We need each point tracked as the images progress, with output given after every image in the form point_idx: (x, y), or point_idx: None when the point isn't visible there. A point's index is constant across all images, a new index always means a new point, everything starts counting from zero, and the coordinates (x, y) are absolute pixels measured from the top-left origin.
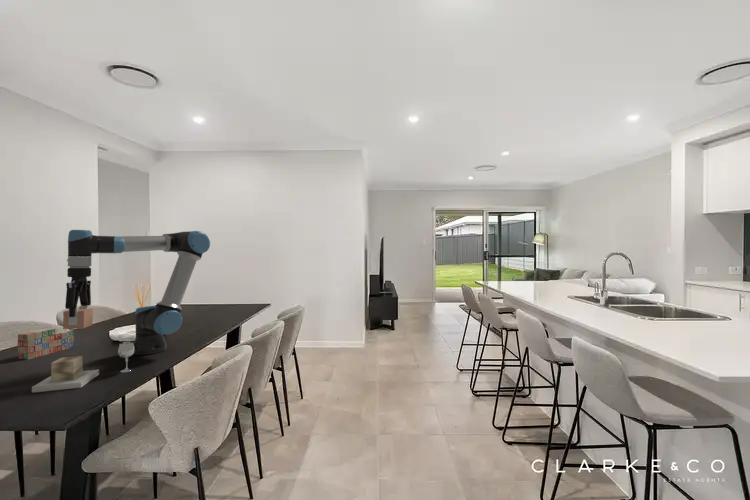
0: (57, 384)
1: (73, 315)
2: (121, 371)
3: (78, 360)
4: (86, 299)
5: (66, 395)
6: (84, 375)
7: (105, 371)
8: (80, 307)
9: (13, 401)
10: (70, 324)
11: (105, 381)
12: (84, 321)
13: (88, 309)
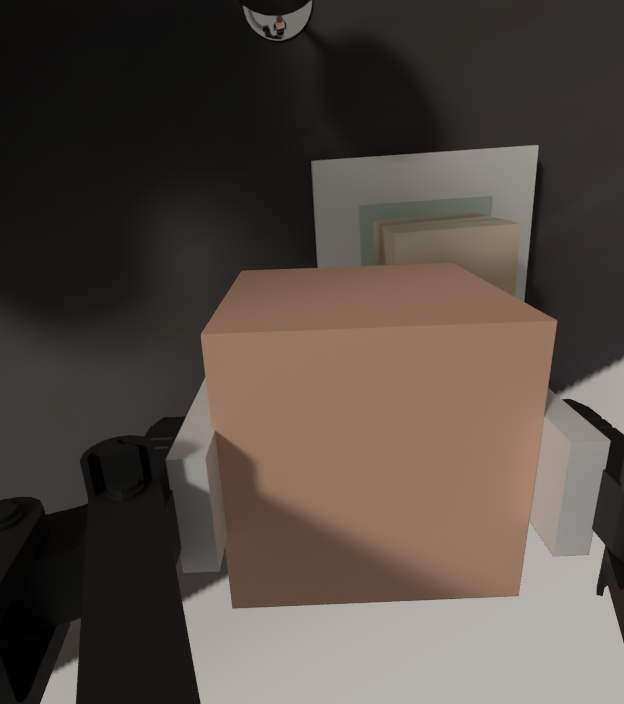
0: (526, 256)
1: (585, 409)
2: (298, 26)
3: (448, 226)
4: (172, 579)
5: (619, 161)
6: (411, 191)
7: (261, 147)
8: (222, 536)
9: (595, 355)
10: None
11: (463, 49)
12: (461, 278)
13: (352, 340)
